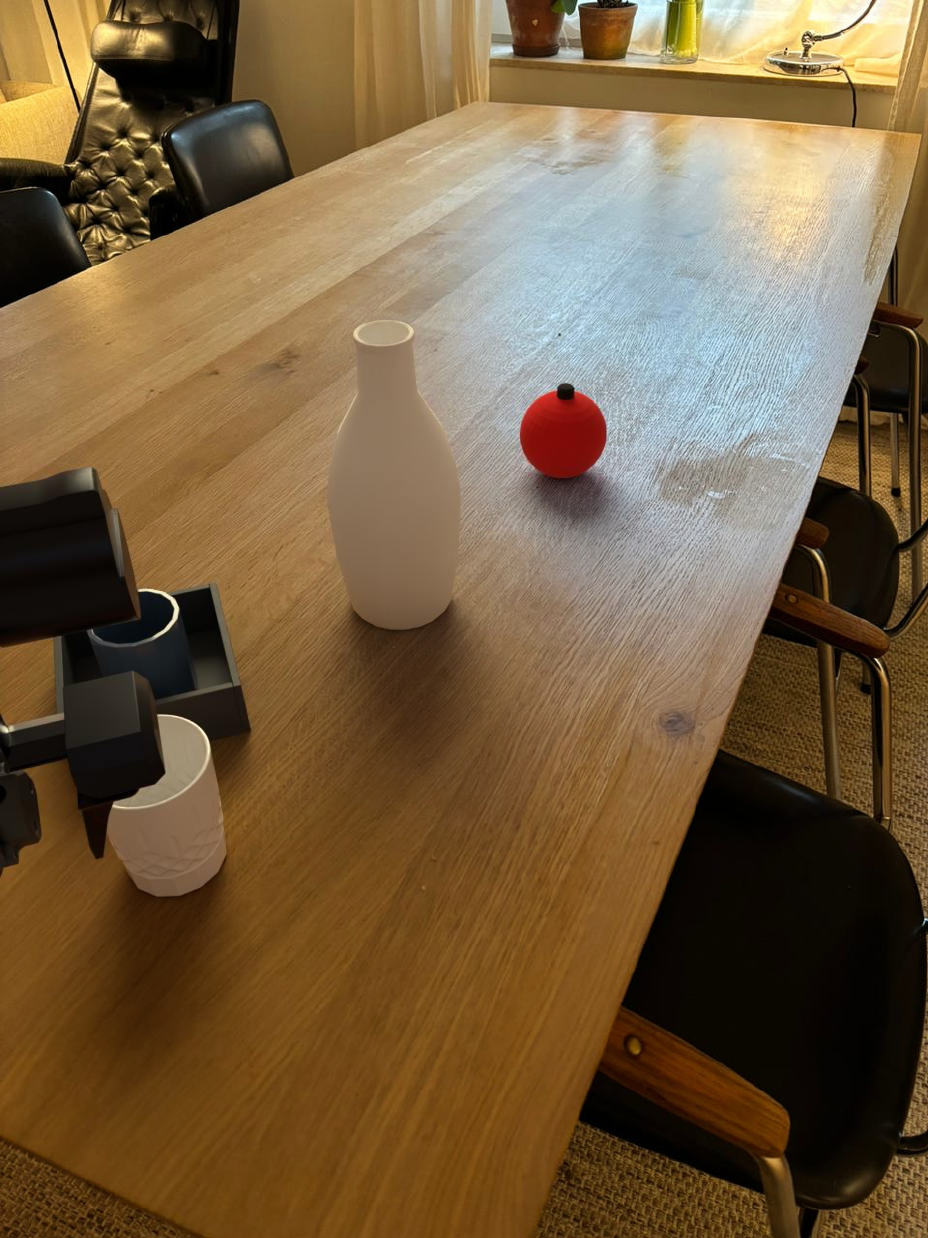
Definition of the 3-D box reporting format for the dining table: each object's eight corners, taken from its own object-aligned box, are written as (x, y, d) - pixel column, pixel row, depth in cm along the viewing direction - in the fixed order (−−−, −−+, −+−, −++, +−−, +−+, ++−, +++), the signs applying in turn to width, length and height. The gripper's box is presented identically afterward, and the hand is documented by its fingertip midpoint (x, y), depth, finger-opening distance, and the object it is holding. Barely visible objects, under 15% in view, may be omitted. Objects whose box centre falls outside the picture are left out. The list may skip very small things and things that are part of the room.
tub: (75, 774, 74) (56, 728, 71) (69, 661, 84) (52, 616, 80) (251, 730, 77) (241, 684, 74) (225, 626, 87) (215, 581, 84)
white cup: (171, 927, 64) (135, 831, 58) (95, 866, 68) (54, 769, 61) (259, 846, 69) (236, 749, 62) (184, 793, 73) (154, 696, 66)
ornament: (618, 464, 106) (626, 378, 100) (578, 504, 101) (584, 416, 94) (544, 441, 110) (548, 357, 104) (502, 478, 104) (504, 392, 98)
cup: (94, 712, 78) (67, 637, 73) (140, 656, 83) (118, 582, 78) (171, 731, 77) (148, 654, 72) (213, 672, 82) (195, 597, 76)
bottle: (488, 600, 89) (490, 332, 73) (394, 659, 83) (373, 382, 67) (407, 547, 95) (392, 289, 79) (314, 598, 90) (276, 331, 73)
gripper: (-427, 872, 34) (-216, 1081, 44) (136, 735, 38) (209, 955, 48) (-341, 661, 42) (-180, 879, 52) (116, 569, 46) (182, 787, 56)
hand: (8, 876), depth 52 cm, fingers open, 9 cm apart
